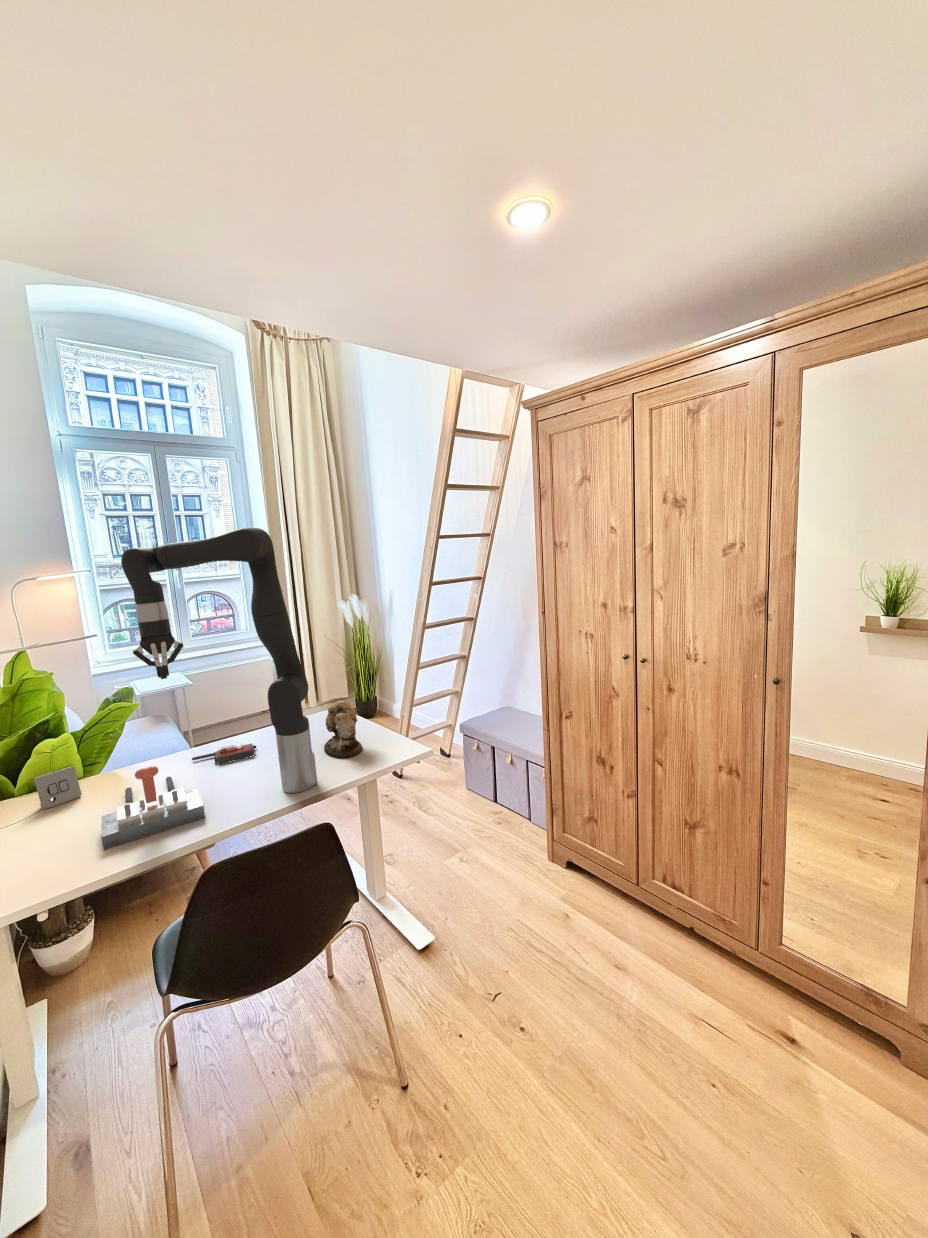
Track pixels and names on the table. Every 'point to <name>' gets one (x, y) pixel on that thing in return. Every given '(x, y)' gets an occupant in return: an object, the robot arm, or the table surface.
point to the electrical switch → (57, 787)
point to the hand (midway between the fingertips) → (164, 678)
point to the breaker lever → (148, 782)
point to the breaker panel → (151, 817)
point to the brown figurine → (342, 731)
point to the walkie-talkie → (230, 753)
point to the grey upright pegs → (129, 791)
